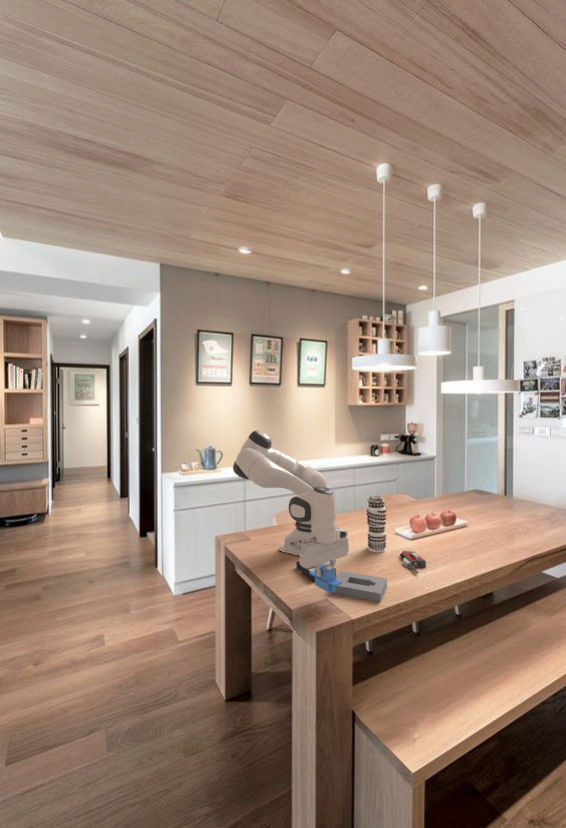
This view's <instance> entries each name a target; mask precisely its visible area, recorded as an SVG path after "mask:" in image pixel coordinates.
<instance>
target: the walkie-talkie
mask: <svg viewBox="0 0 566 828" xmlns="http://www.w3.org/2000/svg"><path fill="white" fill-rule="evenodd" d="M399 557H401V559H402V564H403V565H404V566H405V568H409V569H410V570H412V571H413V572H414V573H415V574H419V571H418V570H416V569H415V568H426V567H427V561H426V560H425V559H424V558H423V557H422V556H421V555H419V554H418V553H417V552H415V551H413V550H404V551H401V553H399Z"/></svg>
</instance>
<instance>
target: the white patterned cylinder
mask: <svg viewBox="0 0 566 828" xmlns="http://www.w3.org/2000/svg"><path fill="white" fill-rule="evenodd" d="M367 501H368V503H367V509H366V519H367V526H368V531H367V549H369V550H368V551H370V552H372V551H373V552H374V553H384V552H386V551H387V541H386V540H387V538H386V537H387V534H386V530H385V529H386V523H387V522H386V520H387V518H386V517H387V514H385V513H387V510H386V506H385V501H386V500H385V499H384V497H382V496H381V495H371V496H370V497H369V498H367ZM373 552H372V553H373Z"/></svg>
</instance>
